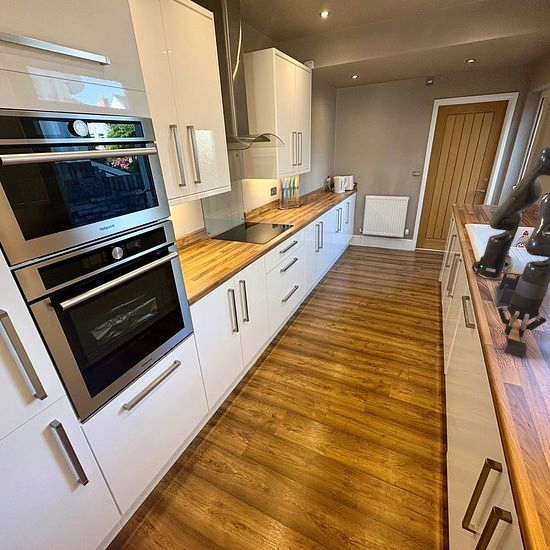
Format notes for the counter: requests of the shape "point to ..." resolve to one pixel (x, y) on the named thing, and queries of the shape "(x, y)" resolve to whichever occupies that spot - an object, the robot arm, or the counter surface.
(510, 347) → the brush
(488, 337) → the counter surface
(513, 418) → the counter surface
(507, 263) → the knee model
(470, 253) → the counter surface
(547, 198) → the robot arm
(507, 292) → the rack
